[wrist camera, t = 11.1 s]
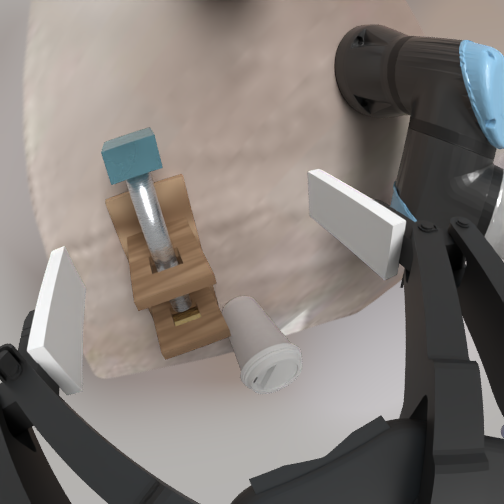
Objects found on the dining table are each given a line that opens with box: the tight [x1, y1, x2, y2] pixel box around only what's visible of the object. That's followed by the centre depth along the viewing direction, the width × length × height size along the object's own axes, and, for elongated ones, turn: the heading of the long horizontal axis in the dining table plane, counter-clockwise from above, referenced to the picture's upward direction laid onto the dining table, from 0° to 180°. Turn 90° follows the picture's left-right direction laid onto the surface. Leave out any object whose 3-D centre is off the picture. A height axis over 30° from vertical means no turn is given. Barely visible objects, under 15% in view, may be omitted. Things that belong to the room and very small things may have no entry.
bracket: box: [105, 174, 231, 360], centre depth 36 cm, size 20×10×14 cm, turn 8°
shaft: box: [101, 127, 192, 312], centre depth 30 cm, size 20×5×5 cm, turn 8°
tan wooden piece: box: [173, 307, 201, 326], centre depth 42 cm, size 2×7×7 cm, turn 98°
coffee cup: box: [222, 296, 302, 394], centre depth 47 cm, size 10×10×15 cm
